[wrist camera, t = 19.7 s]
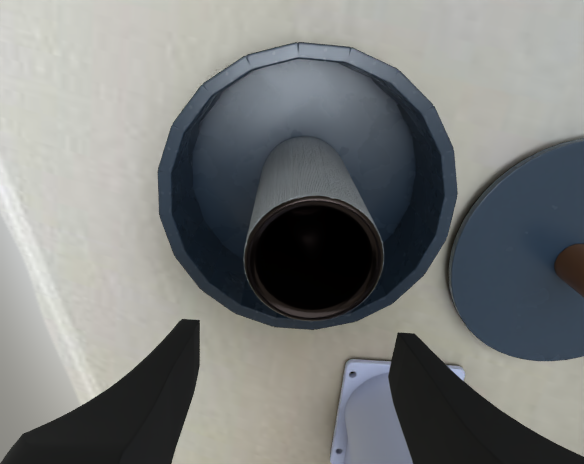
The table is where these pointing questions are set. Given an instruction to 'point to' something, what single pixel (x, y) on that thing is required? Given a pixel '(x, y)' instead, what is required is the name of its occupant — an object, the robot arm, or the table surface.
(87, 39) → the table surface
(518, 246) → the pan lid
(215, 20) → the table surface
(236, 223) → the pan
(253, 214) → the gray hollow cylinder
